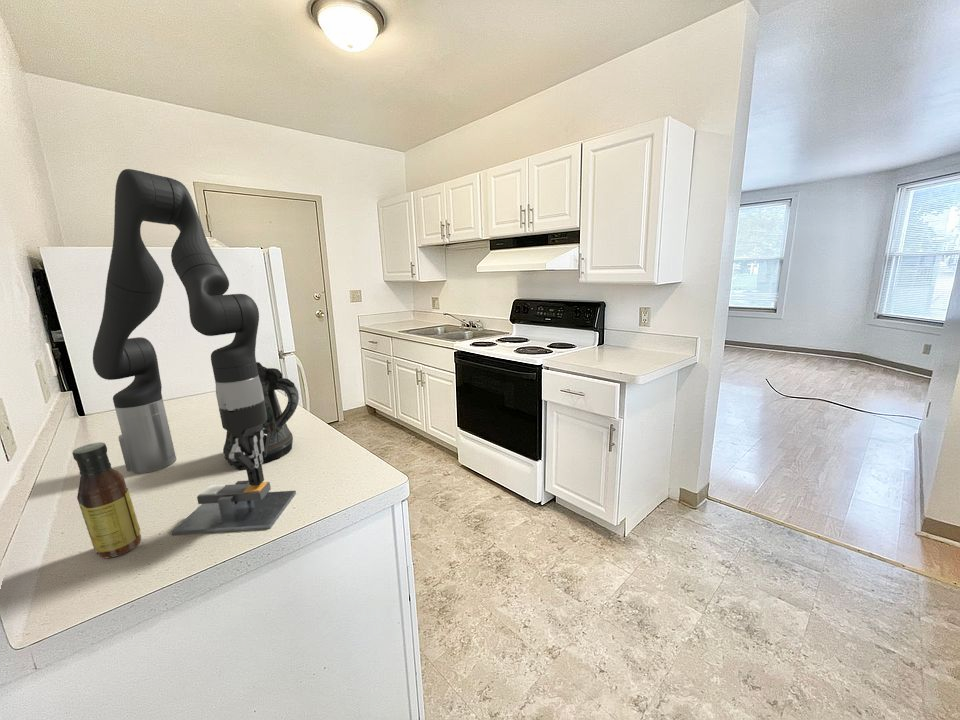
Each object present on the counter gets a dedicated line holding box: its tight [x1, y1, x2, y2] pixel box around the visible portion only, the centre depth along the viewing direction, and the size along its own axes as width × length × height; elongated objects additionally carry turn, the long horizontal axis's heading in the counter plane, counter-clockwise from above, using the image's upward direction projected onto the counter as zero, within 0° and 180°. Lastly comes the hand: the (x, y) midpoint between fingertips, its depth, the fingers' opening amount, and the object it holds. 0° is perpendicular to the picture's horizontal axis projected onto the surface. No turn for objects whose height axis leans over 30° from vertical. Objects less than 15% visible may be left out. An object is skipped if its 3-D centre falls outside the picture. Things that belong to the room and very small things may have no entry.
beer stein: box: [222, 361, 300, 467], centre depth 105 cm, size 16×19×25 cm
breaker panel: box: [170, 479, 297, 536], centre depth 79 cm, size 18×12×5 cm, turn 93°
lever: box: [196, 481, 272, 505], centre depth 79 cm, size 12×4×2 cm, turn 93°
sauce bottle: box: [71, 441, 142, 559], centre depth 68 cm, size 6×6×20 cm
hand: (257, 483), depth 78 cm, fingers closed
